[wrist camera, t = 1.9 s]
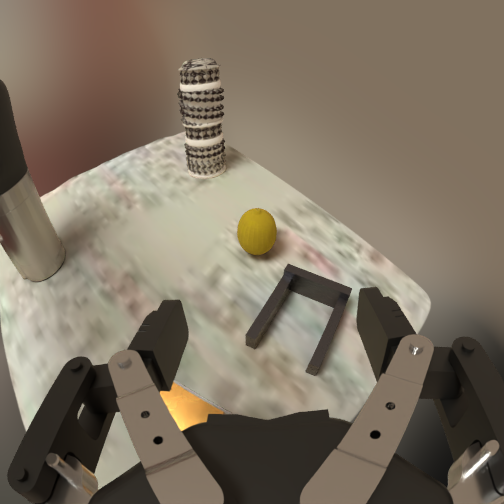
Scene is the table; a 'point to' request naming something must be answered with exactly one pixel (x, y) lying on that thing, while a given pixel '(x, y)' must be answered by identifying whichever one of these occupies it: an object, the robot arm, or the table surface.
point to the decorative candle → (202, 117)
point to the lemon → (257, 231)
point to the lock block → (189, 406)
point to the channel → (310, 288)
